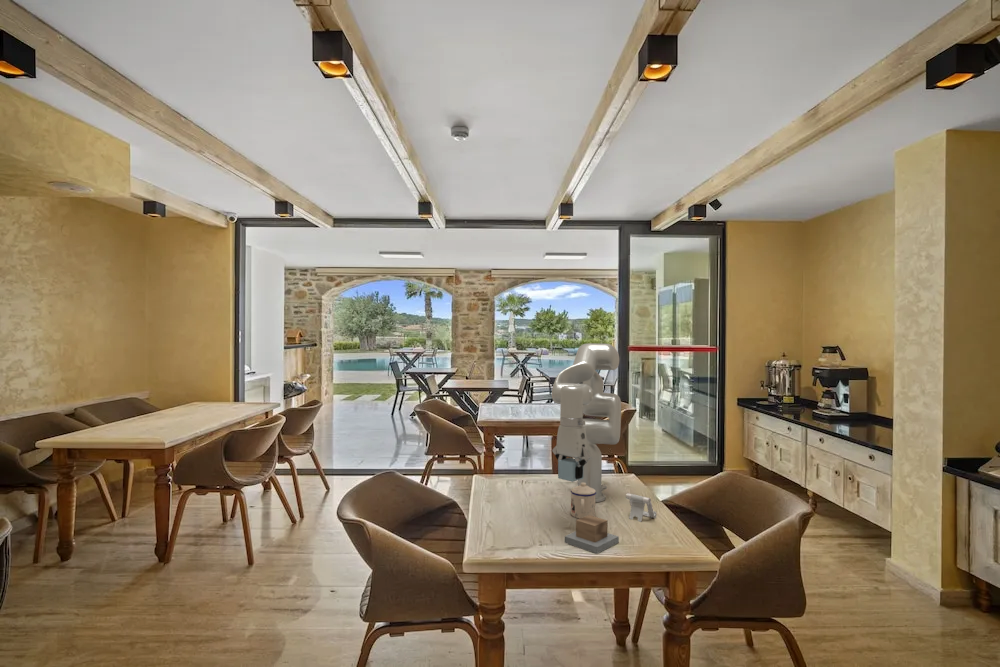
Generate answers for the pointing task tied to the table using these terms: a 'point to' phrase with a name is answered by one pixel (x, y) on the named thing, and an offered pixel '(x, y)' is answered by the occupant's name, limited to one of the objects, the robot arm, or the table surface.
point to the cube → (567, 469)
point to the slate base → (592, 546)
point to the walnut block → (591, 528)
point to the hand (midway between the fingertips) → (570, 475)
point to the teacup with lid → (582, 501)
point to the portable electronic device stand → (640, 507)
